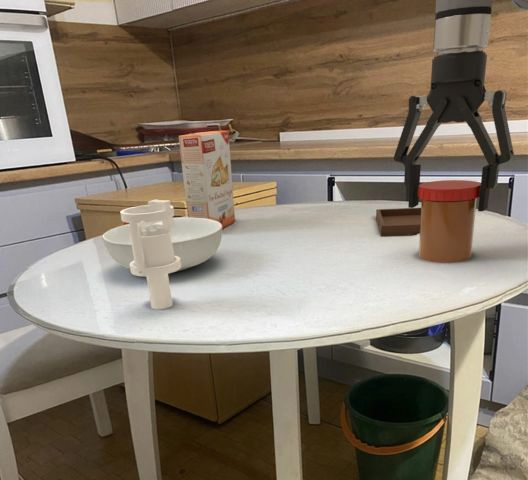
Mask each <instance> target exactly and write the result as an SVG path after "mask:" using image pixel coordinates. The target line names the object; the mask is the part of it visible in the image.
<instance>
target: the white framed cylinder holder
mask: <svg viewBox="0 0 528 480" xmlns="http://www.w3.org/2000/svg"><path fill="white" fill-rule="evenodd" d="M119 214H120V220H121V222H123V223H124V222H127V223H129V224H130V225H128V226H129V228H128V230H129V232H130V238H131V243H132V249H133V255H134V261H132V262H131V263H130V269H129V270H130V273H131V275H133V276H136V277H146V282H147V283H146V284H147V288H148V294H149V301H150V308H151V309H153V310H166V309H169V308H171V307H172V306H173V299H172V292H171V286H170V285H171V284H170V279H169V274H172V273H176V272H175V271H177V270H179V269H180V268H181V261H180V257H178V256H175V255H174V250H173V245H172V242H171V235H170V228H172V227H173V220H172V218H174V216H175V210H174V205H171V200H167V199H165V200H164V199H163V200H162V199H161V200H159V199H152V200H150V201H147V204H145V205H138V206H132V207H128V208H123V209H122V210H120V211H119ZM143 221H145V222H154V221H155V223H154V224H151V226H152V228H154V229H156V230H155V231H151V228H150V226H145V225H141V226H139V223H141V222H143Z"/></svg>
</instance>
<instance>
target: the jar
mask: <svg viewBox="0 0 528 480" xmlns="http://www.w3.org/2000/svg"><path fill="white" fill-rule="evenodd" d="M477 199H478V198H476V199H471V200H463V201H430V200H424V199H421V203H420V204H421V205H420V208H421V221H420V233H419V239H418V241H419V242H418V258H419V259H421V260H423V261H427V262H432V263H441V264H442V263H443V264H444V263H445V264H447V263H448V264H449V263H451V264H452V263H460V262H464V261H468V260H470V259H471V257H472V251H473V243H474V230H475V222H476V221H475V220H476V211H477V210H476V209H477Z"/></svg>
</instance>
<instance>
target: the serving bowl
mask: <svg viewBox="0 0 528 480" xmlns="http://www.w3.org/2000/svg"><path fill="white" fill-rule="evenodd" d="M172 220H173V227H172V228H170V235H171V242H172V245H173V250H174V255H175V256H178V257H180V261H181V268H180V269H179V270H177V271H175V272H174V273H177V272H182V271H184V270H187V269H190V268H194V267H195V266H198V265H201V264H202V263H204V262H206V261H208V260H209V259H211V258H212V256H214V254H215V253H216V252H217V251H218V249H219V247H220V245H221V242H222V237H223V228H222V225H221V223H219V222H217V221H215V220H211V219H205V218H188V216H186V217H172ZM154 223H155V221H154V222H145V221H143V222H141V223H139V226H141V225H145V226H150V228H151V231H155V230H156V229H154V228H152V226H151V224H154ZM128 225H130V224H127V225H124V224H123V225H119V226H116V227H114V228H113V227H112V228H111V229H109V230H107V231H106V232H104V233H103V234H102V241H103V244H104V247H105V249H106V251H107V253H108V254H109V256H110V257H111V258H112V259H113V260H114V261H115V262H116V263H117V264H118V265H120V266H121V267H124V268H127V269H128V270H130V263H131V262H132V261H134V255H133V249H132V243H131V238H130V232H129V230H128V228H129V226H128Z"/></svg>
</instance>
